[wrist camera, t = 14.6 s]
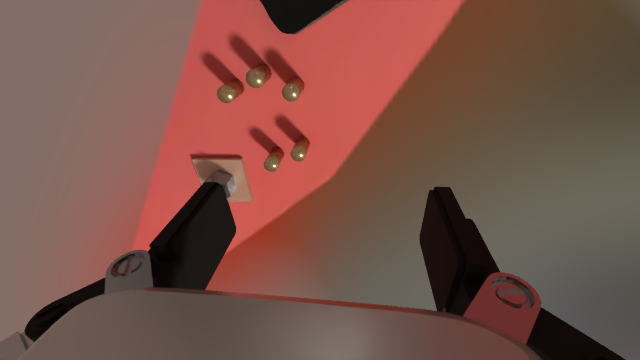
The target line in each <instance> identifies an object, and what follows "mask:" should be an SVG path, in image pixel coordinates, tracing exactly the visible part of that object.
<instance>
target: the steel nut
mask: <svg viewBox="0 0 640 360" xmlns="http://www.w3.org/2000/svg"><path fill="white" fill-rule="evenodd" d="M204 182H218V183H219V184H220V185H222V186H223V188H224V191H225V194H226V197H227V198H229V197H231V196H232V194H233V193H234V191H235V190H236V188H237V186H236V183H235V180H234V176H233V175H231V174H229V173H227V172H224V171H222V170H220V169H219V170H217V171H216V172H214V173H213V174H211V175H210V176H209V177H208V178H207V179H206V180H205V181H204ZM204 182H203V183H204ZM203 183H202V184H203Z"/></svg>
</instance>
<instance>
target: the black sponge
mask: <svg viewBox="0 0 640 360" xmlns="http://www.w3.org/2000/svg"><path fill="white" fill-rule="evenodd" d="M260 1H261V3H262V4H263V6H264V7H265V9H266V11H267V13H268V15H269V17H270V18H271V20H272V21H273V23H274V24H275V25H276V27H277V28H278V29H279V30H280V31H281V32H283V33H286V34H297V33H299V32H301V31H303V30H304V29H305V28H307V27H308V26H311V25H312V24H313V23H315V22H317V21H318V20H320V19H321V18H323V17H324V16H325V15H327V14H329V13H330V12H331V11H333V10H334V9H336V8H338V7H339V6H341V5H342V4H344V3H345V2H347V1H348V0H260Z"/></svg>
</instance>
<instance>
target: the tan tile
mask: <svg viewBox="0 0 640 360" xmlns="http://www.w3.org/2000/svg"><path fill="white" fill-rule="evenodd" d="M192 161H193V164H194V167H195V169H196V172H197V175H198V177H199V180H200V183H201V185H202V183H203V182H204V181H205V180H206V179H207V178H208V177H209V176H210V175H211V174H213V173H214V172H216V171H217V170H219V169H220V170H222V171H224V172H227V173H229V174H231V175H233V176H234V180H235V183H236V186H237V188H236V190H235V191H234V193H233V194H232V196H231V197H229V198H227V200H228V201H234V202H252V201H253V197H252V193H251V189H250V185H249V181H248V177H247V173H246V169H245V165H244V161H243V158H193V159H192Z"/></svg>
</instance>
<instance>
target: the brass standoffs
mask: <svg viewBox="0 0 640 360" xmlns="http://www.w3.org/2000/svg"><path fill="white" fill-rule="evenodd" d="M271 74H272V73H271V69H270V68H269V67H268V66H267V65H265V64H261V65H259V66H257V67H255V68H254V69H252V70H250V71H249V72H248V73H247V74H246V81H247V83H248V84H249V85H250V86H251V87H253V88H258V87H260V86H261V85H262V84H264V83H265V82H266V81H267V80H269V79H270V77H271ZM303 89H304V82H303V80H302V79H301V78H299V77H294V78H292V79H291V80H290V81H289V82H288V83H287V84H286V85H285V86H284V88H283V90H282V95H283V97H284V98H285V99H286V100H287V101H291V102H292V101H295V100H296V99H297V98H298V97H299V95H300V94H301V92H302V91H303ZM243 91H244V86H243V84H242V82H241V81H239V80H236V79H234V80H232V81H230V82H228V83H227V84H225V85H223V86H221V87H220V88H219V89H218V90H217V96H218V98H219V99H220V100H221V101H222V102H224V103H230V102H231V101H232V100H234V99H235V98H237V97H238V96H239V95H241V94H242V93H243ZM309 145H310V142H309V140H308V139H307V138H306V137H299V138H298V139H297V141H296V143H295V145H294V147H293V149H292V151H291V157H292V159H293V160H295V161H302V160H304V158H305V156H306V153H307V150H308V148H309ZM283 156H284V152H283V150H282V149H281V148H278V147H275V148H273V149H272V150H271V152H270V154H269V155H268V157H267V159H266V160H265V162H264V167H265V169H266V170H268V171H271V172H273V171H276V170H277V168H278V166H279V164H280V162H281V160H282V158H283Z"/></svg>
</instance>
